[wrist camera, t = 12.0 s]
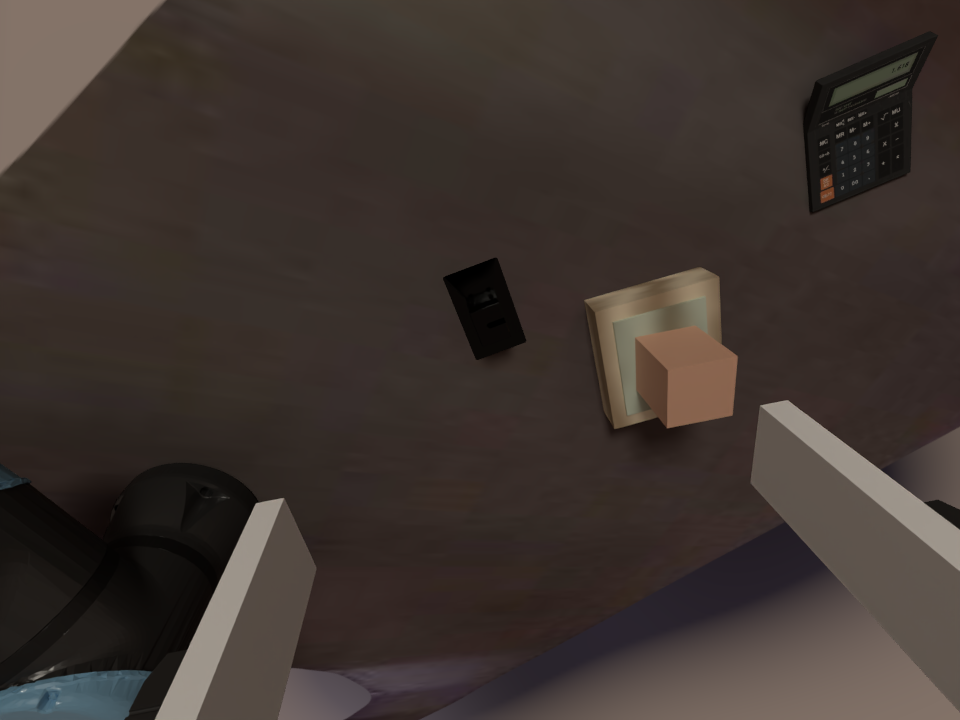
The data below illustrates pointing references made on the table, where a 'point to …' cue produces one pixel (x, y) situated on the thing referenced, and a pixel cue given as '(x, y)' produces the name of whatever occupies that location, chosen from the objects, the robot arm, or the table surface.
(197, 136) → the table surface
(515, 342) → the black rectangular box
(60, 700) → the robot arm
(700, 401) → the terracotta block
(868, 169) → the calculator
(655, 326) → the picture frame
